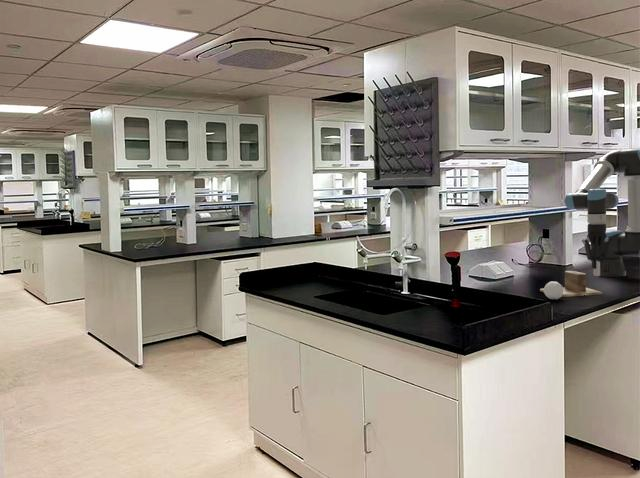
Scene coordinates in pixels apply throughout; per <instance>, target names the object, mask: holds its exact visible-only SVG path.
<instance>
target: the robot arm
mask: <svg viewBox="0 0 640 478" xmlns="http://www.w3.org/2000/svg"><path fill="white" fill-rule="evenodd" d="M618 173H619V174H620V173H621V174H622V173H623V176H624V178H626V179H627V223H628V224H627V228H626V229H625V230H624V232H623V230H608V231H607V210H611V209H614V208H615V207H617V206H618V204H619V201H620V199H619V197H618V195H617V194H616V193H614V192H610V191H608V192H607V190H606V189H605V188H600V187H601V186H602V185H603V184H604V183H605V181H607V180H606V179H608V178H609V177H611V176H612V175H613V174H618ZM564 205H565V208H567V210H568V209H569V210H587V220H586V221H587V223H588V224H587V235H586V238H585V239H584V238H583V239H582V240H581V242H582V243H583V245H584V249H585V254H586V258H587V260H588V261H591V268H592V269H593V273H592V274H593V275H592V276H595V277H602V278H603V277H605V278H621V277H622V276H623V277H626V276H627V271H626V269H625V265H624V262H623V257H634V258H635V257H637V258H640V147H636V148H635V147H634V148H624V149H623V148H622V149H615V150H612V151H609V152H608V153H606V154H605V155H603V156H601V157H600V158H599V159H598V160H597V161H596V162H595V164H594V166H593V169H592V171H591V172H590V173H589V175H588V176H587V177H586V178H585V179H584V181H583V182H582V183H581V185H580V186H579V187H578V188H577V190H576V191H575V192H571V193H566V195H565V197H564Z"/></svg>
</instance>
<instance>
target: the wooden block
mask: <svg viewBox="0 0 640 478" xmlns="http://www.w3.org/2000/svg"><path fill="white" fill-rule="evenodd" d="M564 287H565V289H568V290H572V291H575V292H586V288H587V273H585V272H579V271H575V270H565V271H564Z"/></svg>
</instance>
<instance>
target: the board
mask: <svg viewBox="0 0 640 478" xmlns="http://www.w3.org/2000/svg"><path fill="white" fill-rule="evenodd" d="M562 287H563V286H562ZM539 291H540V292H542V293H544V288H540V289H539ZM602 294H603V292H602V291H599V290H595V289H592V288H589V287H586V292H575V291H572V290H568V289H565V286H564V287H563V295H562V296H561V297H560V298H566V297H579V296H580V297H582V296H583V297H584V295H585V296H597V295H600V296H601V295H602Z"/></svg>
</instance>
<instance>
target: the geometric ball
mask: <svg viewBox="0 0 640 478" xmlns="http://www.w3.org/2000/svg"><path fill="white" fill-rule="evenodd" d="M543 289H544V292H543V293H544V295H545V296H546V297H547V298H548V299H550V300H554V299H555V300H559V299H560V298H562V297H561V296H562V295H563V285H562V284H560V283H559V282H558V281H549V282H547V283H546V284H545V286H544V288H543Z"/></svg>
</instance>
